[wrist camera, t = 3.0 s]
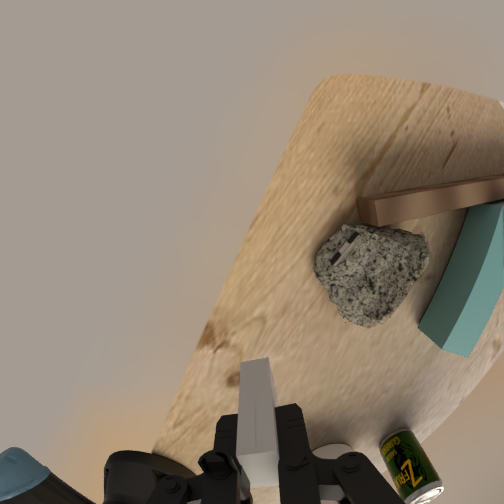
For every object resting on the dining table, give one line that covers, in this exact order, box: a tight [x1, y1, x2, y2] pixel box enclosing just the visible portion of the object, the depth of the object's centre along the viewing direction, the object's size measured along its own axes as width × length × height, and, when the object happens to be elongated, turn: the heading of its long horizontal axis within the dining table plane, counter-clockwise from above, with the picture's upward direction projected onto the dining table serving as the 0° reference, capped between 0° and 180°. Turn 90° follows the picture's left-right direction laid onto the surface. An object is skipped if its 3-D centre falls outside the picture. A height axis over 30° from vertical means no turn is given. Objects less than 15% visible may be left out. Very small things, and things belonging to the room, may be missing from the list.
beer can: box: [380, 429, 443, 504], centre depth 25 cm, size 5×5×12 cm
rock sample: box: [314, 224, 431, 328], centre depth 23 cm, size 10×8×9 cm
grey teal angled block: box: [418, 199, 504, 357], centre depth 23 cm, size 21×15×5 cm
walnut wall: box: [356, 174, 504, 227], centre depth 22 cm, size 28×2×4 cm, turn 102°
